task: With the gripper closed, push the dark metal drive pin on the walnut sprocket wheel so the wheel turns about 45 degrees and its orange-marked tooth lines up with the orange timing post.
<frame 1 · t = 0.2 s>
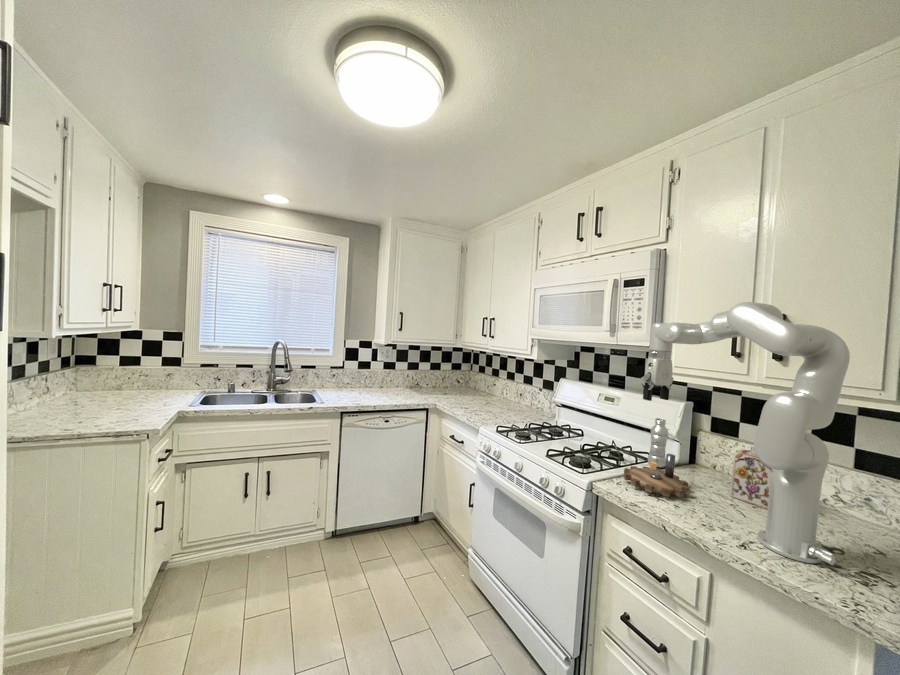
hand: (655, 399, 136), 30 cm above the worktop, tool pointing down, fingers open, 9 cm apart
decorative jar: (755, 500, 123), on the worktop
sprocket base: (654, 487, 128), on the worktop
sprocket: (656, 469, 128), point 6 cm above the worktop, hinge at 0.0°
timing post: (652, 475, 139), on the worktop
plastic bottle: (656, 466, 149), on the worktop
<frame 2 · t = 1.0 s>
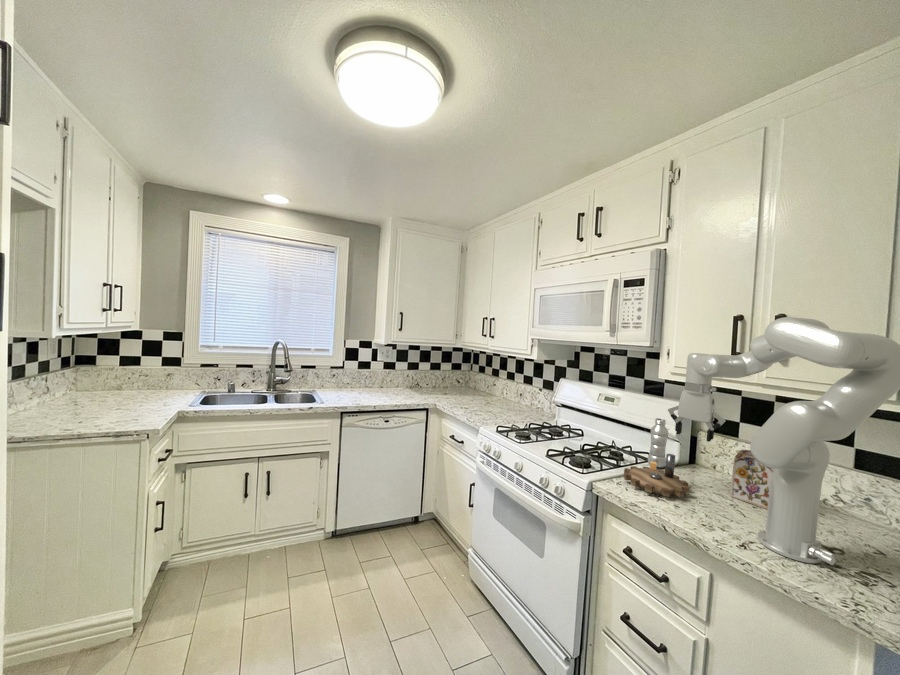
hand: (693, 437, 125), 20 cm above the worktop, tool pointing down, fingers open, 8 cm apart
nothing on the worktop moved.
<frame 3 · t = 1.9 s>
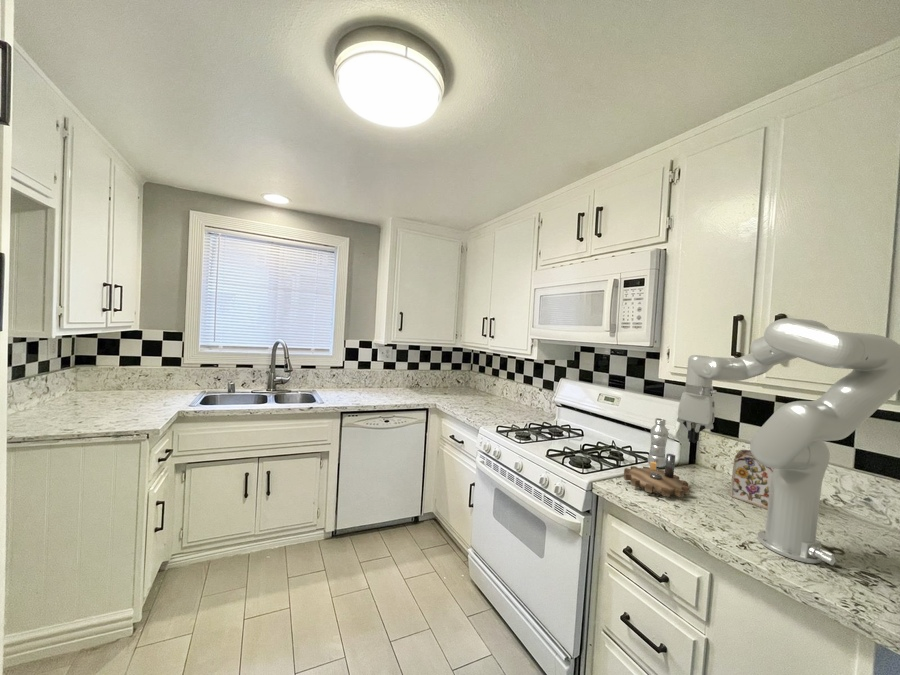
hand: (692, 441, 125), 18 cm above the worktop, tool pointing down, fingers closed
nothing on the worktop moved.
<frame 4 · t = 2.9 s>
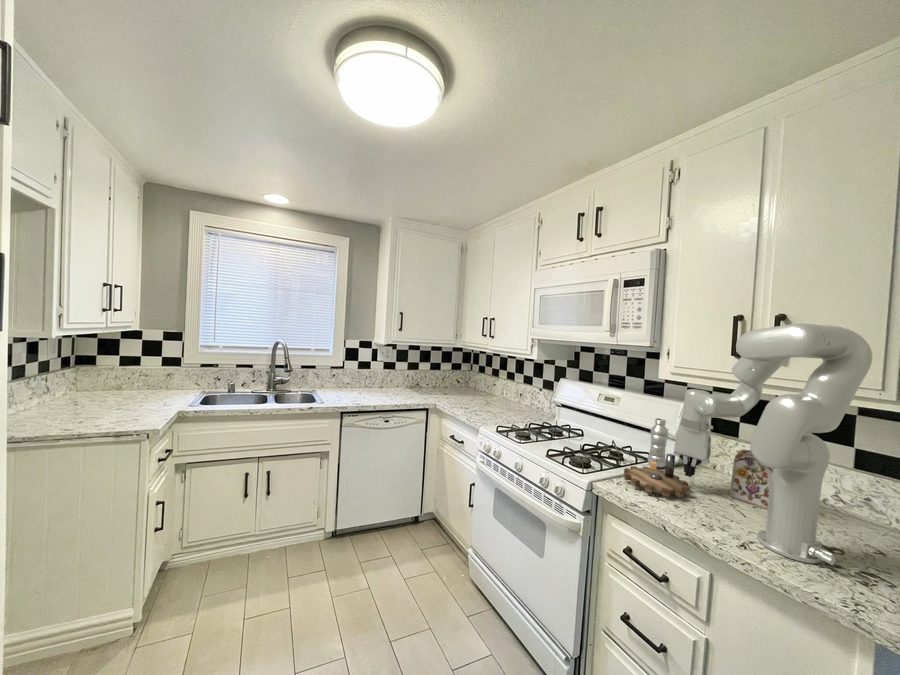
hand: (688, 475, 126), 6 cm above the worktop, tool pointing down, fingers closed
nothing on the worktop moved.
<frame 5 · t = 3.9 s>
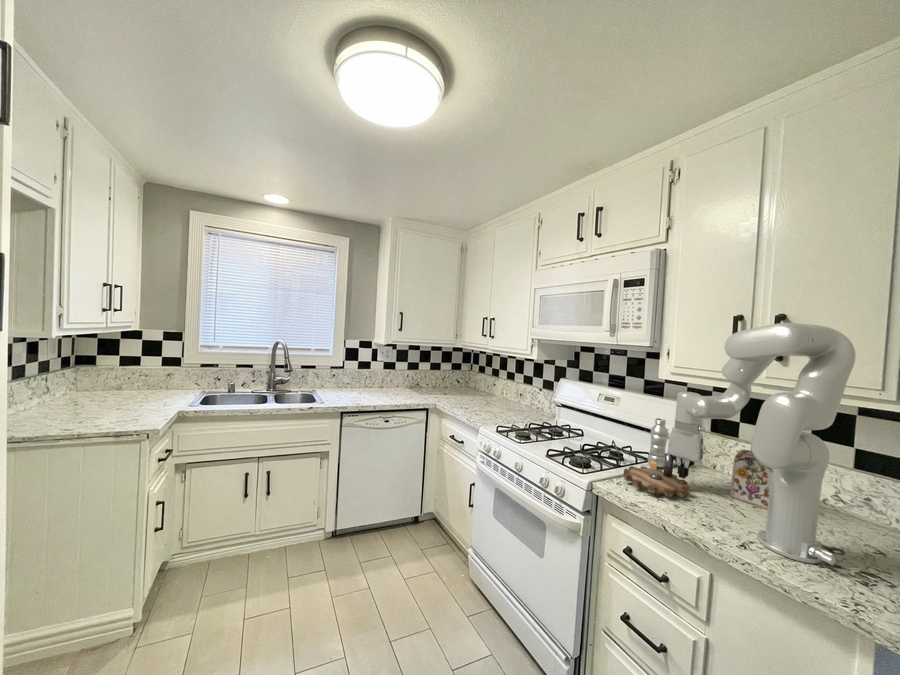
hand: (682, 477, 127), 5 cm above the worktop, tool pointing down, fingers closed
sprocket: (656, 469, 128), point 6 cm above the worktop, hinge at 4.8°, touching gripper
everything else where it was.
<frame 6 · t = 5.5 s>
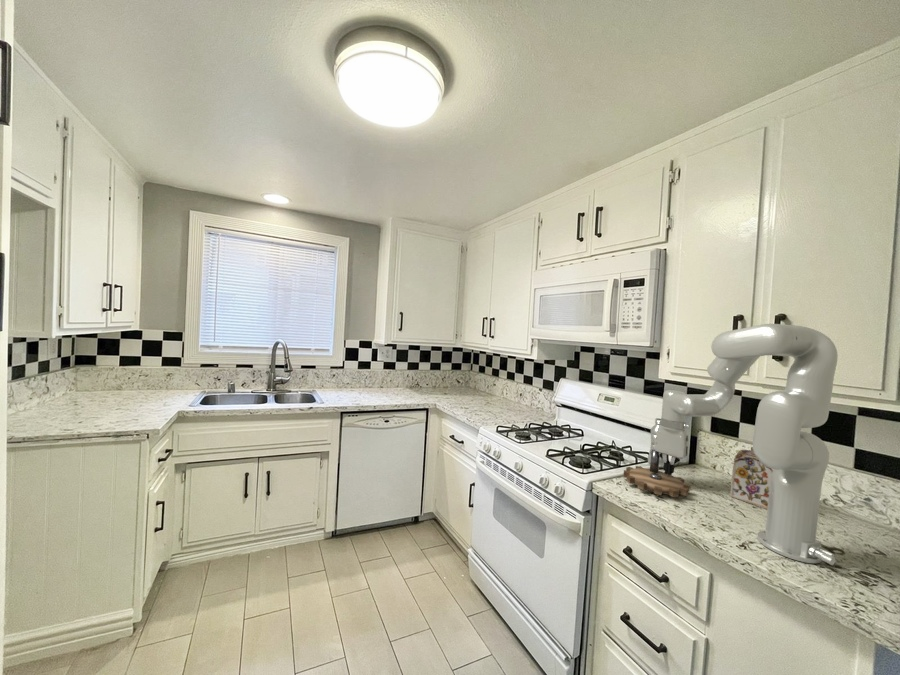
hand: (668, 473, 130), 4 cm above the worktop, tool pointing down, fingers closed
sprocket: (656, 469, 128), point 6 cm above the worktop, hinge at 46.1°
everything else where it was.
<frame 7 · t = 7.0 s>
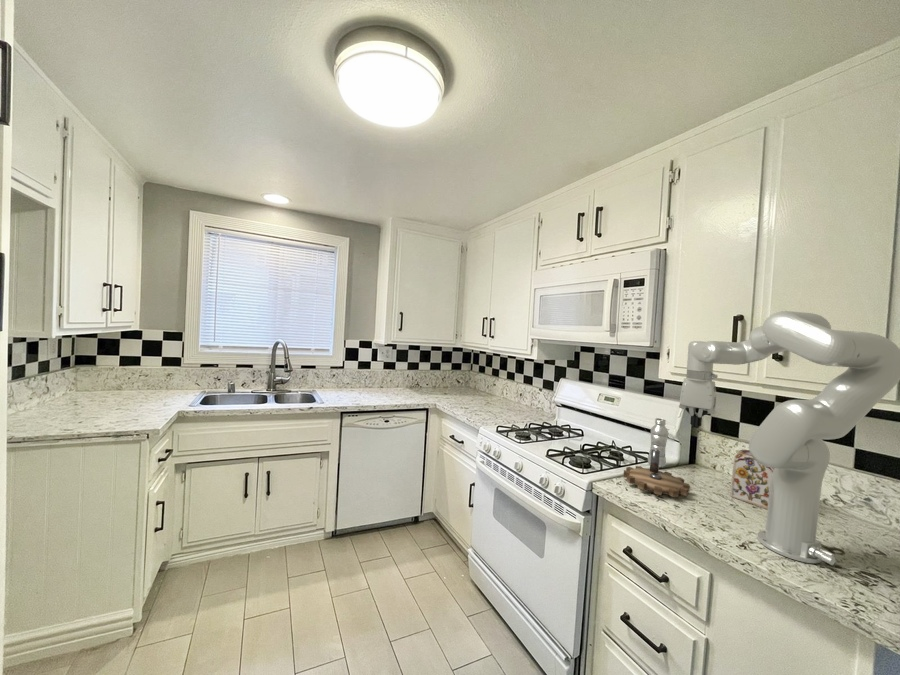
hand: (695, 427, 126), 23 cm above the worktop, tool pointing down, fingers closed
nothing on the worktop moved.
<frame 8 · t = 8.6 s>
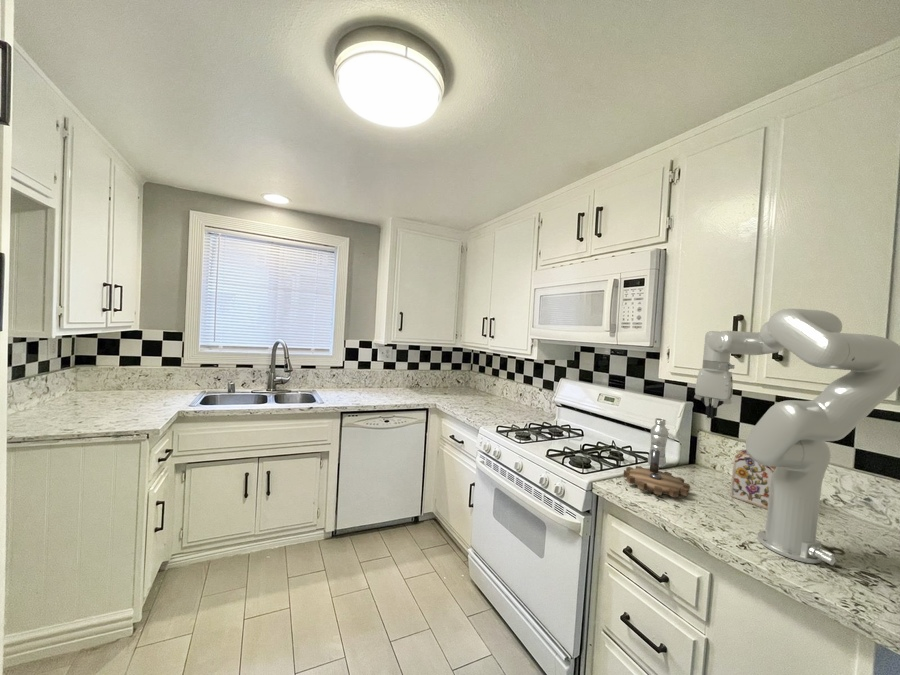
hand: (710, 417, 125), 27 cm above the worktop, tool pointing down, fingers closed
nothing on the worktop moved.
at the end: sprocket at +46° (first picture: +0°); plastic bottle moved 0.2 cm from its start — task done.
